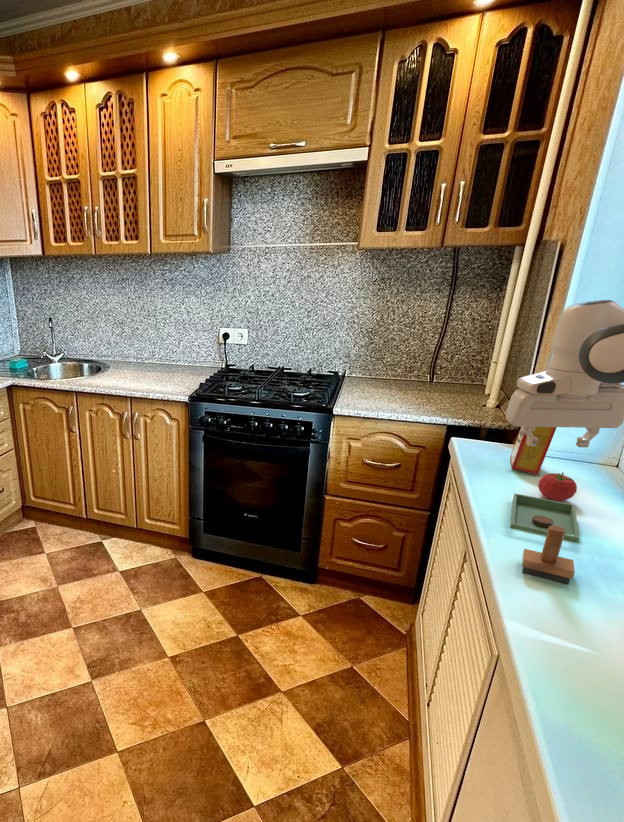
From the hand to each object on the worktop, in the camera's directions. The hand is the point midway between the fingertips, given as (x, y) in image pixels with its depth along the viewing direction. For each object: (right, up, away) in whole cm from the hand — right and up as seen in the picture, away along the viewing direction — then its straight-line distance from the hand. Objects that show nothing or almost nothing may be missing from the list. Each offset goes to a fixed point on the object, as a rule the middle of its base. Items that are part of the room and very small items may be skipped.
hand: (556, 446), depth 112 cm
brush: (-8, -26, -7) cm, 28 cm away
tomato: (+19, -14, +25) cm, 34 cm away
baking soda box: (+25, -6, +45) cm, 52 cm away
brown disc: (+6, -18, +12) cm, 22 cm away
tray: (+6, -19, +13) cm, 23 cm away
